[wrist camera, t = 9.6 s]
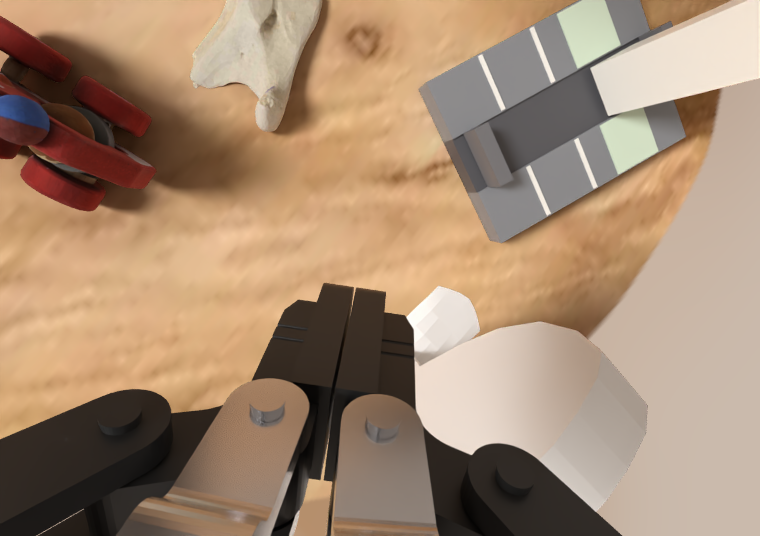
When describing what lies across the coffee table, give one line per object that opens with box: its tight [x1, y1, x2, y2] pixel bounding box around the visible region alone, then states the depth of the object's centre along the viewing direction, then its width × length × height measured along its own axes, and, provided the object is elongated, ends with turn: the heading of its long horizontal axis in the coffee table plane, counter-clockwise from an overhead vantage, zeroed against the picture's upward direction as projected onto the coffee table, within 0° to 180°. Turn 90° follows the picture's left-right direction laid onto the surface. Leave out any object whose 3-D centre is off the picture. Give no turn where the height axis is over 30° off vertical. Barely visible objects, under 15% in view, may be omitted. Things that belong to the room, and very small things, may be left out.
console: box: [419, 0, 686, 243], centre depth 31 cm, size 12×16×4 cm
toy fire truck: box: [0, 16, 156, 211], centre depth 23 cm, size 7×12×10 cm, turn 55°
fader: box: [590, 0, 760, 116], centre depth 25 cm, size 4×4×13 cm
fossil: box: [190, 0, 322, 132], centre depth 27 cm, size 7×11×3 cm, turn 163°
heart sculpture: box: [406, 286, 648, 512], centre depth 25 cm, size 16×5×18 cm, turn 133°
